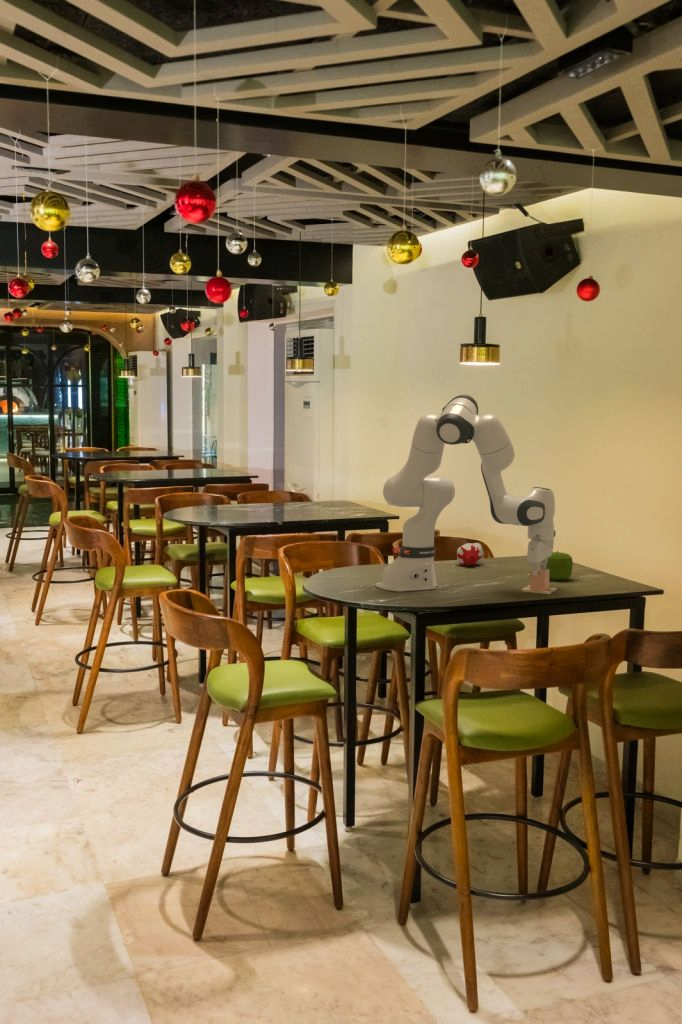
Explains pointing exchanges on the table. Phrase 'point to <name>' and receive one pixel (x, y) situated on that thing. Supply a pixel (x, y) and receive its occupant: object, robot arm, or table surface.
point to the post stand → (548, 591)
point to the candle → (470, 554)
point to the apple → (559, 566)
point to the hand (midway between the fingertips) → (539, 573)
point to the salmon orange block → (540, 580)
